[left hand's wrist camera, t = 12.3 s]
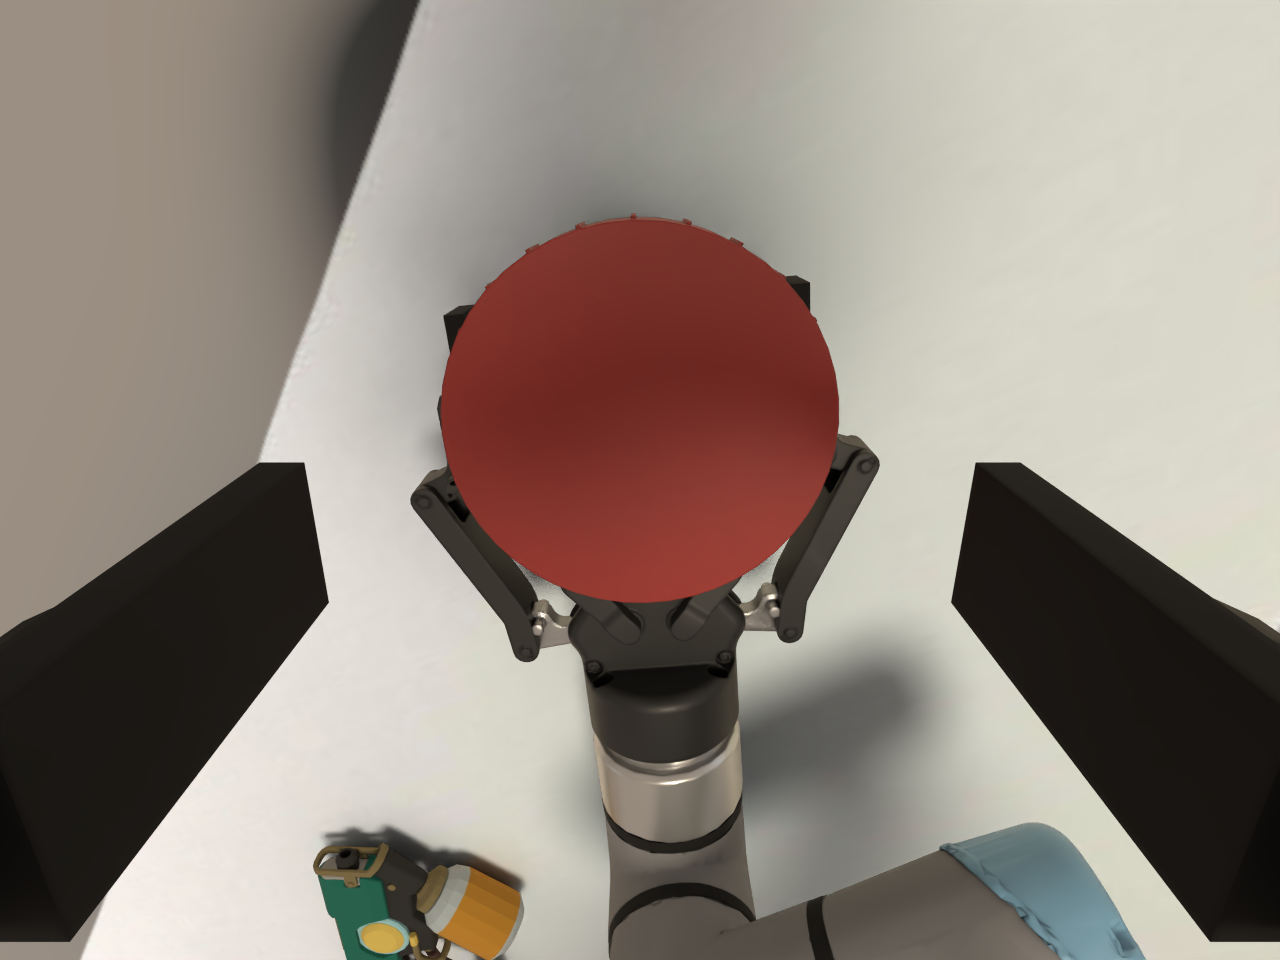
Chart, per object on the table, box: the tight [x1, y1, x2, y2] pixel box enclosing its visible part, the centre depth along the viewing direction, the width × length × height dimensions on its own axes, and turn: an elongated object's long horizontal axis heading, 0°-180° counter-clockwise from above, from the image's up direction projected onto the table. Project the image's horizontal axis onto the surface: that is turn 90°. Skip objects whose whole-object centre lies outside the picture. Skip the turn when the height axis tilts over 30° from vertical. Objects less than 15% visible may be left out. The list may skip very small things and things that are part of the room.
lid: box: [441, 213, 839, 603], centre depth 20 cm, size 10×10×2 cm
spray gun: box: [313, 843, 524, 960], centre depth 50 cm, size 4×17×15 cm
